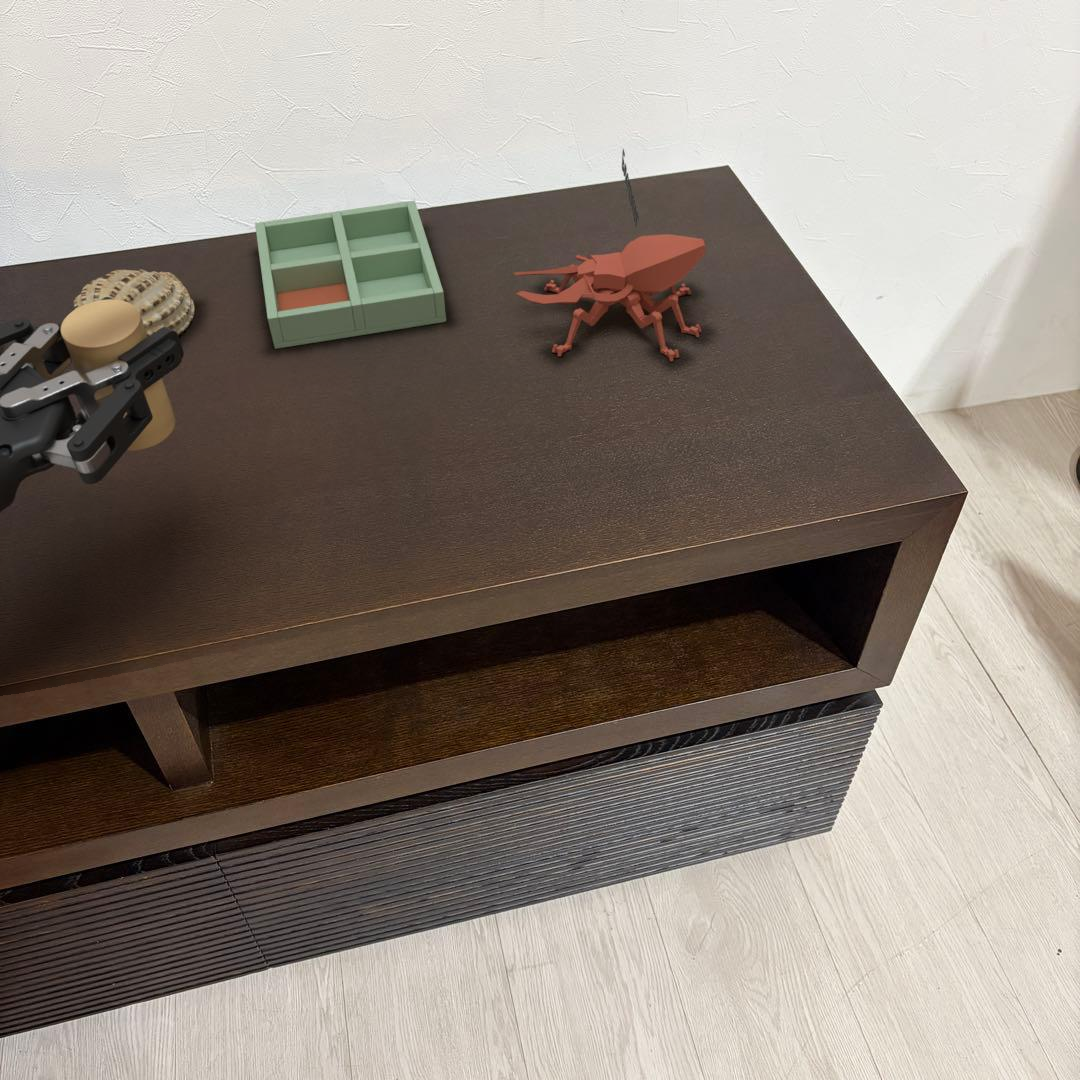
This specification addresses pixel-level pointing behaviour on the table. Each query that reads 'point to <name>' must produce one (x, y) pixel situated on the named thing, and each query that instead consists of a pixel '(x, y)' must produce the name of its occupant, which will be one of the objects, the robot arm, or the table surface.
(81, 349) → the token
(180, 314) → the seashell
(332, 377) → the table surface
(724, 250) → the table surface
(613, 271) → the beetle
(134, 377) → the robot arm
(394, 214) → the grid
